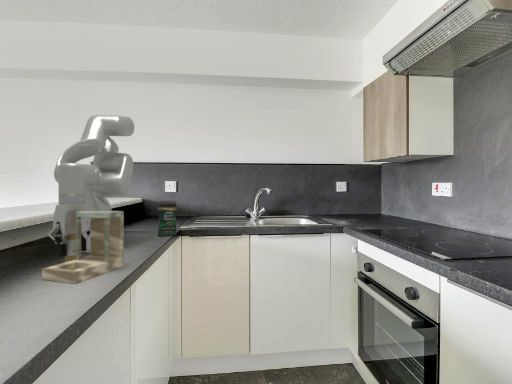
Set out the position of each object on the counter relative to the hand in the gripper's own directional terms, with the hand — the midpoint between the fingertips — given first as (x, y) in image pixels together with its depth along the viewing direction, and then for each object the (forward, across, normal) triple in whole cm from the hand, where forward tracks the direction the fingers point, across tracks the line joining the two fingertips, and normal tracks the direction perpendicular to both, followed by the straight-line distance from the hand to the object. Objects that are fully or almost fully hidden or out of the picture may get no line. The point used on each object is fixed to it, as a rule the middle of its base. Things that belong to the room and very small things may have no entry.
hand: (72, 252), depth 97 cm
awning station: (+4, +5, +12) cm, 14 cm away
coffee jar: (+4, -59, -2) cm, 59 cm away
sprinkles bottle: (+4, 0, 0) cm, 4 cm away
